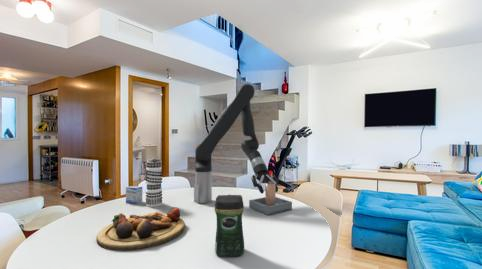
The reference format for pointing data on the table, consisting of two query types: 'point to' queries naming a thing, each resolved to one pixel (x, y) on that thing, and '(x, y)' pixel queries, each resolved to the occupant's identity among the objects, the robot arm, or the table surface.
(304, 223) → the table surface
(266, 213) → the tray
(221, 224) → the coffee jar
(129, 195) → the medicine box
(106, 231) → the wooden plate with food
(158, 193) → the model tower building
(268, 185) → the cup
